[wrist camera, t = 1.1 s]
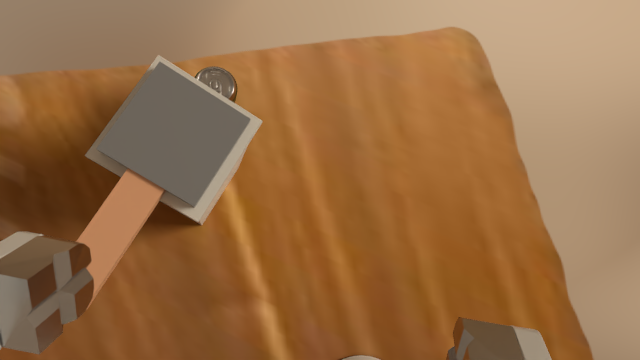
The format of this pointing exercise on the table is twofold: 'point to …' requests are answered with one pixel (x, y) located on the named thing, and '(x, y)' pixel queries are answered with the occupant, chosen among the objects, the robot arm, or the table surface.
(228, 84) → the soda can
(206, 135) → the toy hammer
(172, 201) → the tall grey box
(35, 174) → the table surface
